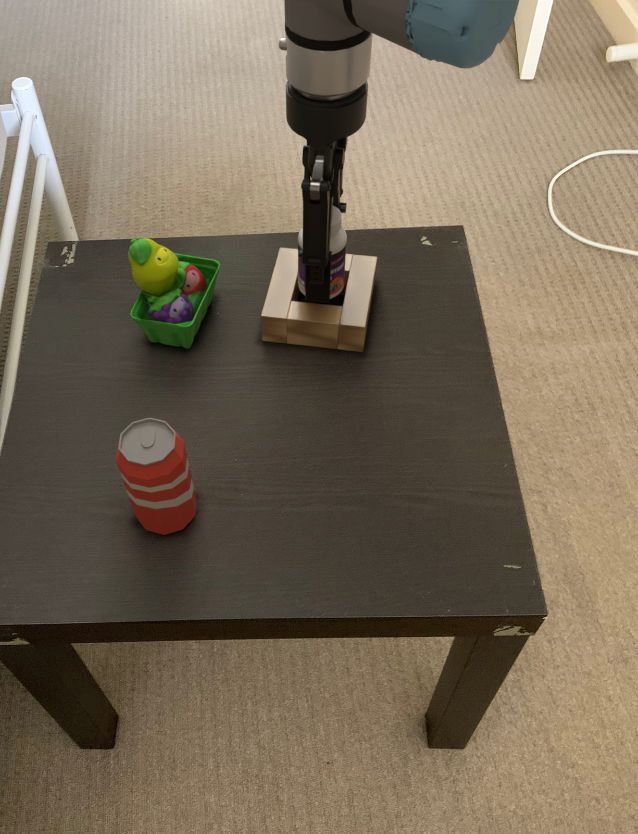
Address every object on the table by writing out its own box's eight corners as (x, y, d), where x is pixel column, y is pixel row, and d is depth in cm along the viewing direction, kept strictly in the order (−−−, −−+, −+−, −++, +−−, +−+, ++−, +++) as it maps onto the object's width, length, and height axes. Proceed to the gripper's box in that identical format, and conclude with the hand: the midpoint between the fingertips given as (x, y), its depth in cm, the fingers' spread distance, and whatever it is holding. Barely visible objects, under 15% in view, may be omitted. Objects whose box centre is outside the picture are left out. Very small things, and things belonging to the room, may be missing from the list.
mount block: (374, 282, 94) (377, 256, 90) (362, 352, 88) (365, 327, 84) (280, 273, 95) (279, 247, 92) (262, 340, 89) (260, 315, 86)
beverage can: (198, 484, 79) (183, 411, 68) (195, 537, 75) (179, 469, 65) (140, 486, 79) (117, 413, 69) (134, 538, 75) (109, 470, 65)
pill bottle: (305, 306, 86) (306, 235, 78) (292, 276, 89) (291, 204, 81) (350, 296, 87) (355, 224, 79) (335, 266, 90) (338, 194, 82)
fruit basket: (196, 359, 88) (183, 284, 79) (126, 346, 90) (105, 271, 80) (225, 293, 94) (217, 216, 84) (159, 282, 96) (144, 205, 86)
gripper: (302, 26, 73) (303, 227, 93) (266, 135, 64) (275, 333, 83) (379, 30, 72) (363, 232, 92) (355, 141, 63) (342, 341, 82)
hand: (321, 280), depth 87 cm, fingers closed on pill bottle, 5 cm apart
